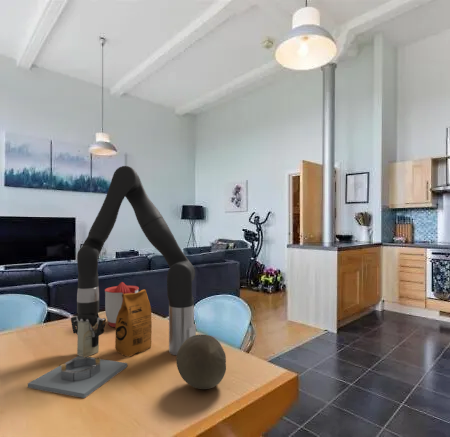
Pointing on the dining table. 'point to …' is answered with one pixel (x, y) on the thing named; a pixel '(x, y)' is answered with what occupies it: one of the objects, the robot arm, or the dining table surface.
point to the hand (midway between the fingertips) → (88, 345)
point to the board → (77, 388)
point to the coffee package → (133, 324)
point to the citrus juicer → (116, 300)
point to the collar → (81, 374)
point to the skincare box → (85, 340)
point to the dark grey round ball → (201, 361)
